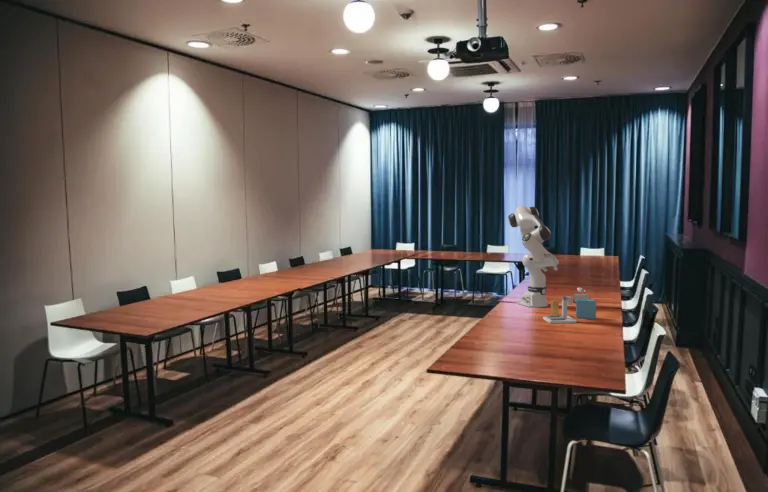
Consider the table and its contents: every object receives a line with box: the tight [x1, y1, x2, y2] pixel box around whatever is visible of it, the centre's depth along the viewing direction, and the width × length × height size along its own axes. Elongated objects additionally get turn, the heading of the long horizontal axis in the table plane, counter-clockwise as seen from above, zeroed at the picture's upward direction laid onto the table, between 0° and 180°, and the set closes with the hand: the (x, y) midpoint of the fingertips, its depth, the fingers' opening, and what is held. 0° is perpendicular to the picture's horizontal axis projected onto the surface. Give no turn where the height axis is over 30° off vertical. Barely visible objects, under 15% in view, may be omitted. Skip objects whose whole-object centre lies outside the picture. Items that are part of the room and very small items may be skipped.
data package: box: [575, 299, 597, 320], centre depth 362 cm, size 12×4×12 cm, turn 73°
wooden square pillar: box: [550, 299, 560, 315], centre depth 371 cm, size 4×4×10 cm
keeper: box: [542, 295, 577, 324], centre depth 355 cm, size 17×13×16 cm
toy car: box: [572, 287, 591, 304], centre depth 417 cm, size 18×10×12 cm
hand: (551, 270), depth 366 cm, fingers open, 8 cm apart
